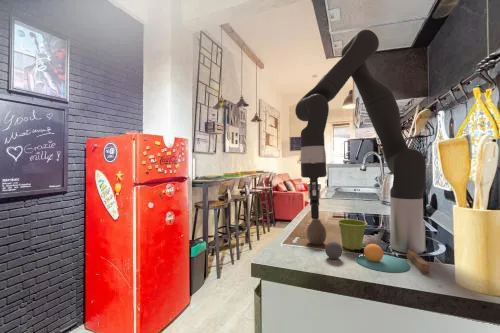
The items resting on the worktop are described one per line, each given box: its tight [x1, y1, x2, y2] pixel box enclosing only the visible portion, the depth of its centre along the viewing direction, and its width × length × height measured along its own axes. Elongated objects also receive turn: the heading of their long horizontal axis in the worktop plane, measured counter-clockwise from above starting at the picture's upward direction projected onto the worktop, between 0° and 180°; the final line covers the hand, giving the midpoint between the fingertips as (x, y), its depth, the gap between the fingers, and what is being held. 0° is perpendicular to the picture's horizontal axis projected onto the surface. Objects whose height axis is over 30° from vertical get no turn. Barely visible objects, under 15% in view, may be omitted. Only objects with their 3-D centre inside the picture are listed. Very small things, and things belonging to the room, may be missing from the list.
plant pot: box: [337, 218, 368, 251], centre depth 85 cm, size 9×9×9 cm
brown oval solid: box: [306, 218, 327, 246], centre depth 90 cm, size 7×7×9 cm
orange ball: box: [363, 243, 384, 262], centre depth 72 cm, size 5×5×5 cm
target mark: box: [354, 253, 411, 273], centre depth 72 cm, size 14×14×1 cm
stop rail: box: [406, 249, 430, 276], centre depth 69 cm, size 12×2×2 cm, turn 164°
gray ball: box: [324, 241, 343, 260], centre depth 75 cm, size 5×5×5 cm
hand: (315, 218), depth 76 cm, fingers closed
